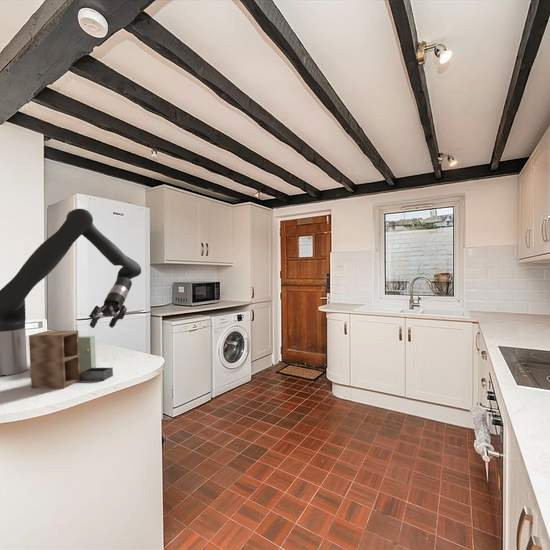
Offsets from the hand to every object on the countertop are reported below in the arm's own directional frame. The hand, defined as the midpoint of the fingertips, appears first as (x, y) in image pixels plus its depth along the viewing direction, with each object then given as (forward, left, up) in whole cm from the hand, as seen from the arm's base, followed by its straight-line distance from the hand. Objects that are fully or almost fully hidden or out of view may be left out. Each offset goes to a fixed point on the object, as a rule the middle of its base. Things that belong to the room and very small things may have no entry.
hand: (101, 326), depth 129 cm
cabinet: (-2, -22, -16) cm, 27 cm away
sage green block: (0, -10, -16) cm, 19 cm away
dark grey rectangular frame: (+9, -16, -16) cm, 24 cm away
